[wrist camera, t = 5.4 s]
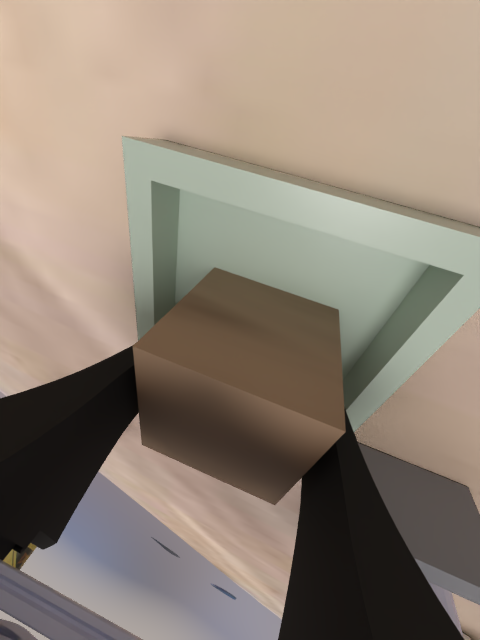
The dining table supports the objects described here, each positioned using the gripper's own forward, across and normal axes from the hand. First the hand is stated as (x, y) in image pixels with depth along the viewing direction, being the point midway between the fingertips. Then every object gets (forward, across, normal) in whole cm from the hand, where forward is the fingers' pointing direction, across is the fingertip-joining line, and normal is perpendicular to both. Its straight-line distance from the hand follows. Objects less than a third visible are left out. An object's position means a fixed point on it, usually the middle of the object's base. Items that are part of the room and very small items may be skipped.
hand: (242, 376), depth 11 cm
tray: (+3, 0, 0) cm, 3 cm away
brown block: (+3, 0, 0) cm, 3 cm away
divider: (+3, -11, +7) cm, 14 cm away
